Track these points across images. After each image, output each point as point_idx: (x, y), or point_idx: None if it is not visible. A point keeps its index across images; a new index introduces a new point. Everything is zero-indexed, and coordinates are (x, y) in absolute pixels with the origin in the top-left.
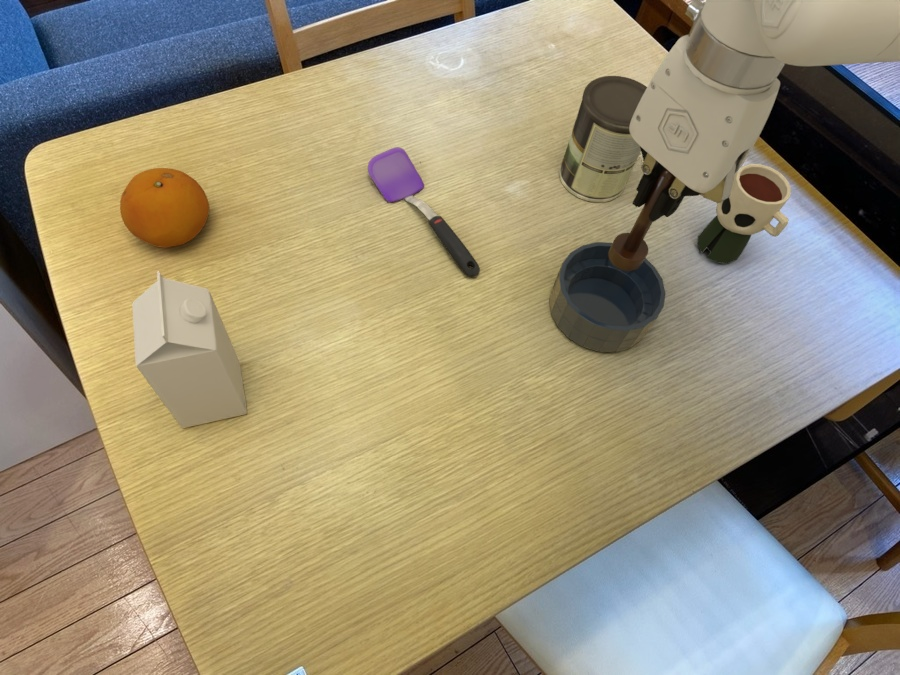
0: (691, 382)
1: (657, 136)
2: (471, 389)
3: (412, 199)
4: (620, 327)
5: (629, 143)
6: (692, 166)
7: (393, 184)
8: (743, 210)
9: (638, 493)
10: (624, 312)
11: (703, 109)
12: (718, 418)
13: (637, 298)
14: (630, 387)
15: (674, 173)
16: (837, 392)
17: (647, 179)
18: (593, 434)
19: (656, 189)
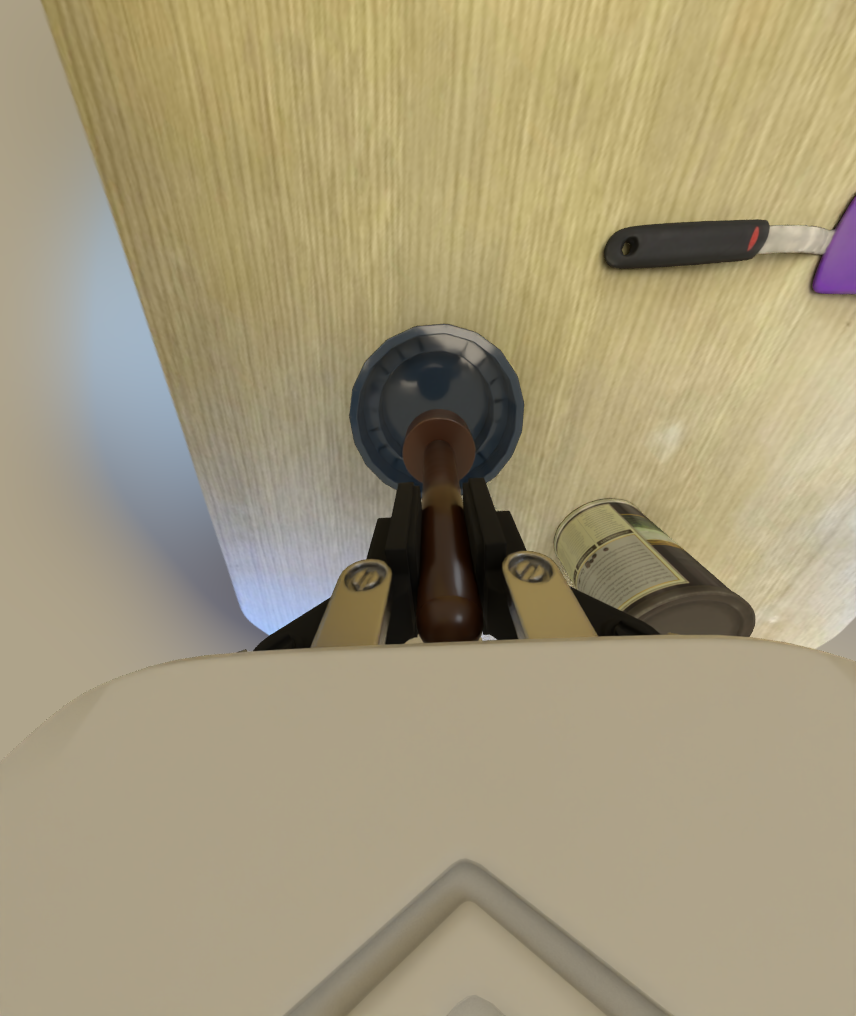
0: (291, 442)
1: (741, 958)
2: (422, 48)
3: (823, 237)
4: (362, 378)
5: (608, 599)
6: (62, 928)
7: None
8: (418, 638)
9: (152, 243)
10: None
11: None
12: (236, 437)
13: None
14: (312, 362)
15: (318, 665)
16: (232, 564)
17: (492, 543)
18: (261, 245)
19: (449, 547)
